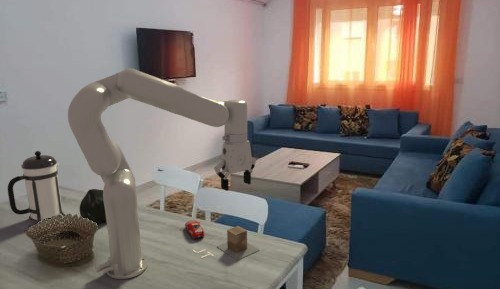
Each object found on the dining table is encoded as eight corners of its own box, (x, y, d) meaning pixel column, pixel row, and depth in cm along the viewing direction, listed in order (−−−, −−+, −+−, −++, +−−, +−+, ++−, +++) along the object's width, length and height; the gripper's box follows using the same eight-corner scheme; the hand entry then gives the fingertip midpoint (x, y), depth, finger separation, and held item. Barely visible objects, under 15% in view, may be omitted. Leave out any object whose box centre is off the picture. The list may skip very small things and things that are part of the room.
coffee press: (38, 211, 165) (28, 146, 158) (73, 211, 165) (64, 146, 158) (12, 228, 149) (0, 157, 142) (51, 229, 148) (40, 157, 141)
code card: (201, 264, 121) (201, 264, 121) (182, 250, 130) (182, 250, 130) (223, 255, 127) (223, 254, 127) (204, 242, 136) (204, 242, 136)
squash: (128, 201, 162) (102, 177, 159) (115, 216, 148) (87, 190, 145) (106, 220, 165) (81, 197, 162) (92, 237, 150) (64, 212, 147)
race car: (184, 226, 149) (183, 217, 148) (197, 224, 151) (196, 215, 150) (191, 241, 137) (191, 231, 136) (205, 238, 139) (205, 228, 138)
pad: (237, 260, 124) (237, 259, 123) (216, 247, 132) (216, 246, 132) (259, 250, 130) (259, 249, 130) (238, 238, 139) (238, 237, 139)
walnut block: (236, 253, 128) (235, 235, 126) (227, 247, 131) (227, 229, 130) (247, 248, 131) (247, 230, 129) (238, 243, 134) (238, 225, 133)
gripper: (221, 143, 113) (222, 195, 117) (262, 136, 124) (262, 183, 128) (207, 139, 119) (209, 189, 123) (248, 132, 130) (248, 178, 134)
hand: (236, 186), depth 126 cm, fingers open, 9 cm apart
